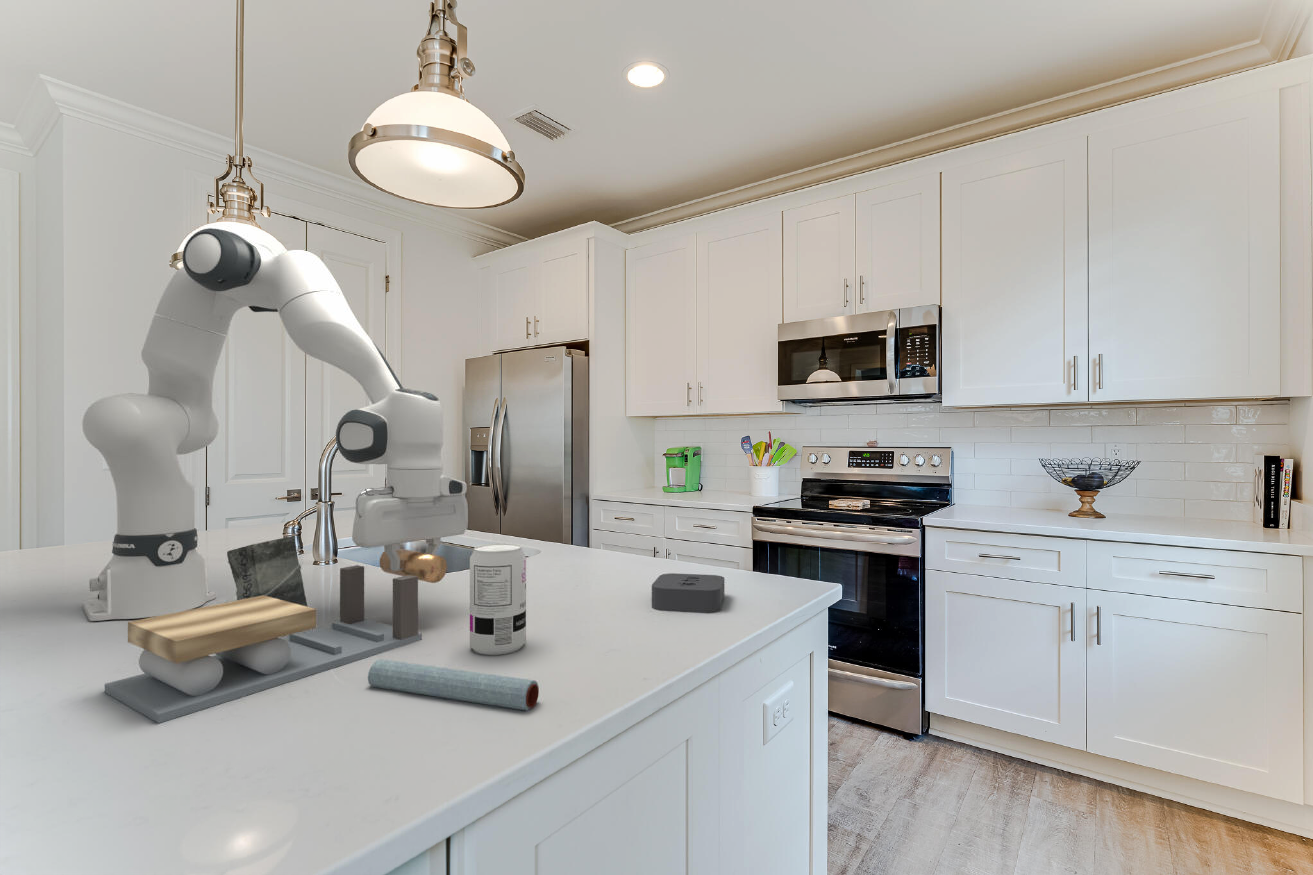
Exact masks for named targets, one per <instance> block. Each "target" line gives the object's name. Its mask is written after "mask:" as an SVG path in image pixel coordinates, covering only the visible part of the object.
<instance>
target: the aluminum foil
mask: <svg viewBox="0 0 1313 875" xmlns="http://www.w3.org/2000/svg"><path fill="white" fill-rule="evenodd" d="M367 680H368V684H369V686H370V687H373V688H374V687H375V688H378V689H379V688H380V689H387V690H394V691H399V692H405V693H411V694H417V695H418V694H419V695H425V696H431V697H437V698H442V699H443V698H444V699H448V700H449V699H450V700H456V701H463V702H467V703H468V702H469V703H476V704H483V705H488V706H493V707H502V708H507V709H515V710H520V711H526V712H528V711H529V710H530V709H532V708H534V707H535V706H536V704H537V702H538V699H539V696H540V695H539V693H540V692H539V690H540V689H539V688H540V687H539V683H538V682H537V680H535V679H527V678H519V677H513V676H505V675H499V674H492V673H483V672H476V671H471V670H470V671H469V670H462V669H456V668H447V667H440V666H433V665H425V664H418V663H410V662H403V661H396V660H388V659H384V658H383V659H382V658H381V659H377V660H376V661H374V662H373V664H372V665H371V666H370V669H369V671H368V674H367Z"/></svg>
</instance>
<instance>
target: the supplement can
mask: <svg viewBox="0 0 1313 875" xmlns="http://www.w3.org/2000/svg"><path fill="white" fill-rule="evenodd" d="M522 546H523V545H521V544H517V543H505V542H503V543H488V544H481V545H477V546H475V547H474V548H473V551H472V553H471V555H470V556H469V647H470V648H471V649H472V650H473V651H474V652H475V653H476V654H479V655H484V656H501V655H506V654H510V653H515V652H517V651H518V650H520V649H521V648H522V647H523V645H524V644H526V642H527V556H526V554H525V553H524V550H523V548H522Z"/></svg>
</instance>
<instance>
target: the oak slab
mask: <svg viewBox="0 0 1313 875" xmlns="http://www.w3.org/2000/svg"><path fill="white" fill-rule="evenodd" d="M316 628H317V609H316V608H313V607H309V606H307V607H306V606H302V605H298V604H295V603H291V602H287V601H283V600H279V599H276V598H272V597H268V596H264V595H262V596H257V597H252V598H247V599H242V600H237V599H236V600H233V601H228V602H223V603H218V604H212V605H208V606H202V607H196V608H193V609H190V610H186V611H181V612H176V613H171V614H166V615H161V616H154V617H145V618H140V619H137V620H131V621H128V622H127V643H129V644H131V645H133V646H136V647H138V648H141V649H142V650H144V649H145V650H147V651H149V652H152V653H154V654H156V655H158V656H161V657H163V658H165V659H167V660H170V661H172V662H174V663H180V662H184V661H187V660H191V659H195V658H199V657H203V656H207V655H209V656H212V655H216V654H215V653H219V652H223V651H227V650H231V649H235V648H238V647H242V646H246V645H250V644H254V643H258V642H262V641H266V640H270V639H274V638H281V637H282V638H283V637H284V636H285V637H286V636H289V634H293V633H297V632H298V633H302V632H306V631H308V630H309V631H310V630H314V629H316Z"/></svg>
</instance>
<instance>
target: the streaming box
mask: <svg viewBox="0 0 1313 875" xmlns="http://www.w3.org/2000/svg"><path fill="white" fill-rule="evenodd" d="M725 596H726V594H725V577H723V576H722V575H718V574H717V575H716V574H699V573H698V574H695V573H693V574H692V573H671V572H670V573H669V572H668V573H663V574H661V575H659V576H658V577H657V578H656V579H655V581H653V583H652V584H651V608H652V609H653V610H655V611H661V612H675V613H677V612H679V613H693V614H715V613H718V612H721V611H722V610H721V609H722V607H723V604H724V602H725V599H726V598H725Z"/></svg>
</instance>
